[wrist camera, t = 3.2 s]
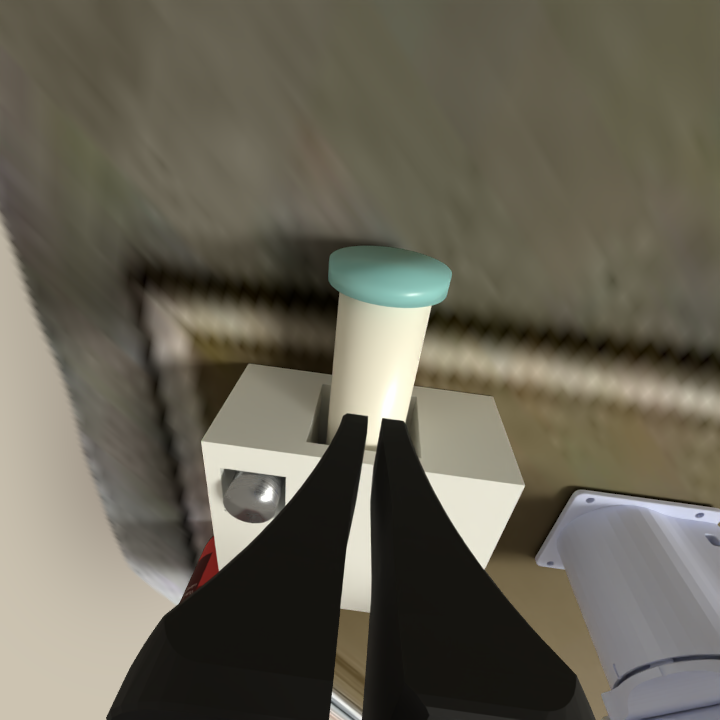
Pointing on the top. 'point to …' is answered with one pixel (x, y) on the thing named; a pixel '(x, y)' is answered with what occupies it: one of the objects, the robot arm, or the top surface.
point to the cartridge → (380, 331)
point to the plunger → (253, 496)
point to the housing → (308, 444)
